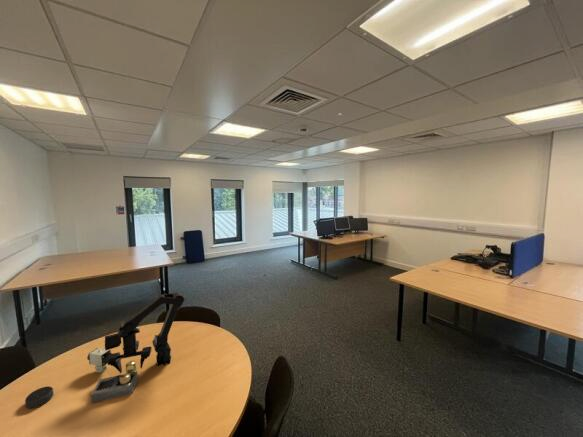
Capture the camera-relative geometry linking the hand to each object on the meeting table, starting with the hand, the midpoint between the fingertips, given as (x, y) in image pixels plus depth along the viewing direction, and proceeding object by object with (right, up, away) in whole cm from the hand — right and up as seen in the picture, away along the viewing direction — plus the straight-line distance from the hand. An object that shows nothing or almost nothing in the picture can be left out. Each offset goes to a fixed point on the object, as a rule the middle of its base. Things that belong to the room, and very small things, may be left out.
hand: (131, 370), depth 127 cm
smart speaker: (-31, -4, -17) cm, 36 cm away
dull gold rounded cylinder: (+3, -3, -9) cm, 10 cm away
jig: (0, -3, -11) cm, 11 cm away
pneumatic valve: (-18, -2, +3) cm, 18 cm away
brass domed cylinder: (0, -2, 0) cm, 2 cm away
